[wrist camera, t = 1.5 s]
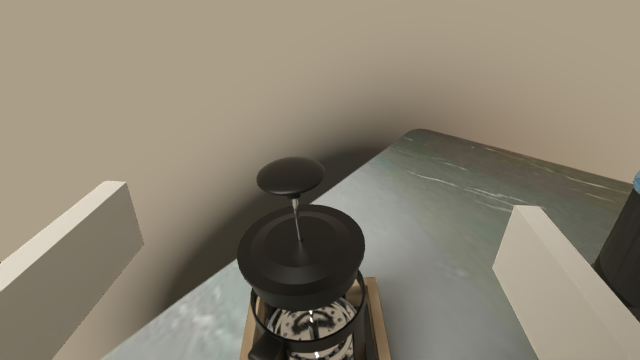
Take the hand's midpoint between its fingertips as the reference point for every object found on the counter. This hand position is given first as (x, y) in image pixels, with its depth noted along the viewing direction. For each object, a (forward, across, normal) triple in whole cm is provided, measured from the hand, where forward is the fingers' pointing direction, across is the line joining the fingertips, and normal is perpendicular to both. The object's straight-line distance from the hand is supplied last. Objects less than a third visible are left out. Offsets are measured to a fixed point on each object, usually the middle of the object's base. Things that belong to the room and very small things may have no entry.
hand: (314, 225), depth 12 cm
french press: (+10, 0, -25) cm, 27 cm away
